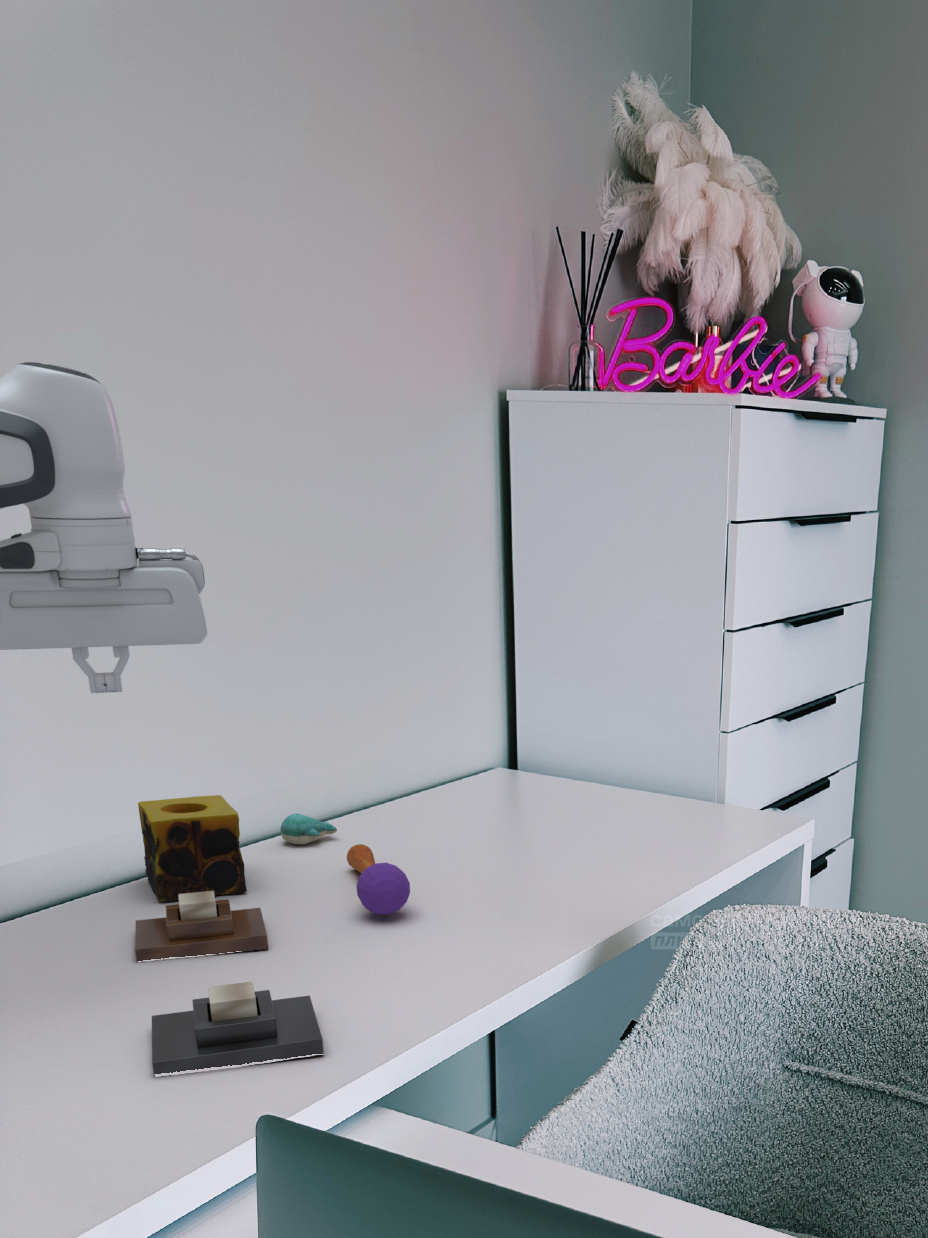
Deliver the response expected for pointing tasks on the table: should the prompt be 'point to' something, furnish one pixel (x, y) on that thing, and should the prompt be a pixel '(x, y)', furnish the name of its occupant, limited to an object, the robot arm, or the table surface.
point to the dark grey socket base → (235, 1035)
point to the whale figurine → (304, 829)
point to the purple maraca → (378, 882)
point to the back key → (197, 905)
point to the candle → (191, 846)
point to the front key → (232, 1001)
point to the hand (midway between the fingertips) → (106, 691)
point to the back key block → (200, 933)
